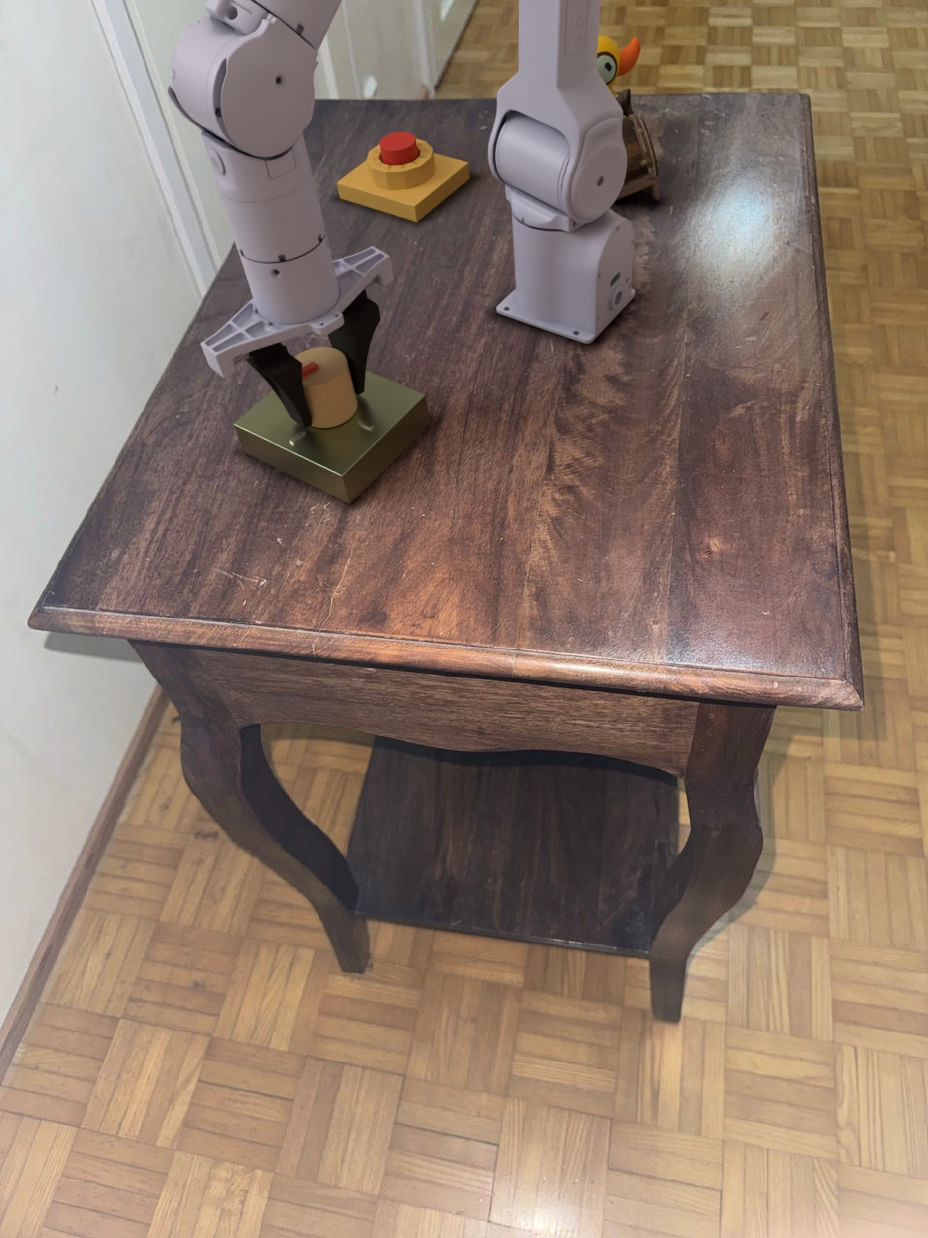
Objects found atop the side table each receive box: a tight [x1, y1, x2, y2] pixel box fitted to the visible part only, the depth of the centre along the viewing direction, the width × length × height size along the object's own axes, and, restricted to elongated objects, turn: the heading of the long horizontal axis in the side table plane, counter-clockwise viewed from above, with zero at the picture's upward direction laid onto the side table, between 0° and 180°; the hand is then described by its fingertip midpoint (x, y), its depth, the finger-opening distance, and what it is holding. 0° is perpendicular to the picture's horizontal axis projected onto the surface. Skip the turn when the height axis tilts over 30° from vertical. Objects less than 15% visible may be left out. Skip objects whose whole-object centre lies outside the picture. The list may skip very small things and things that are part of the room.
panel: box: [233, 369, 431, 505], centre depth 70 cm, size 11×10×3 cm
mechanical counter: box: [615, 113, 661, 202], centre depth 85 cm, size 7×13×10 cm
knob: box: [294, 346, 357, 428], centre depth 67 cm, size 4×4×4 cm
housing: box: [336, 138, 471, 223], centre depth 91 cm, size 10×9×4 cm
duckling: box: [596, 34, 642, 92], centre depth 90 cm, size 11×5×10 cm, turn 110°
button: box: [379, 131, 418, 166], centre depth 89 cm, size 4×4×2 cm
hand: (327, 404), depth 68 cm, fingers closed on knob, 4 cm apart
